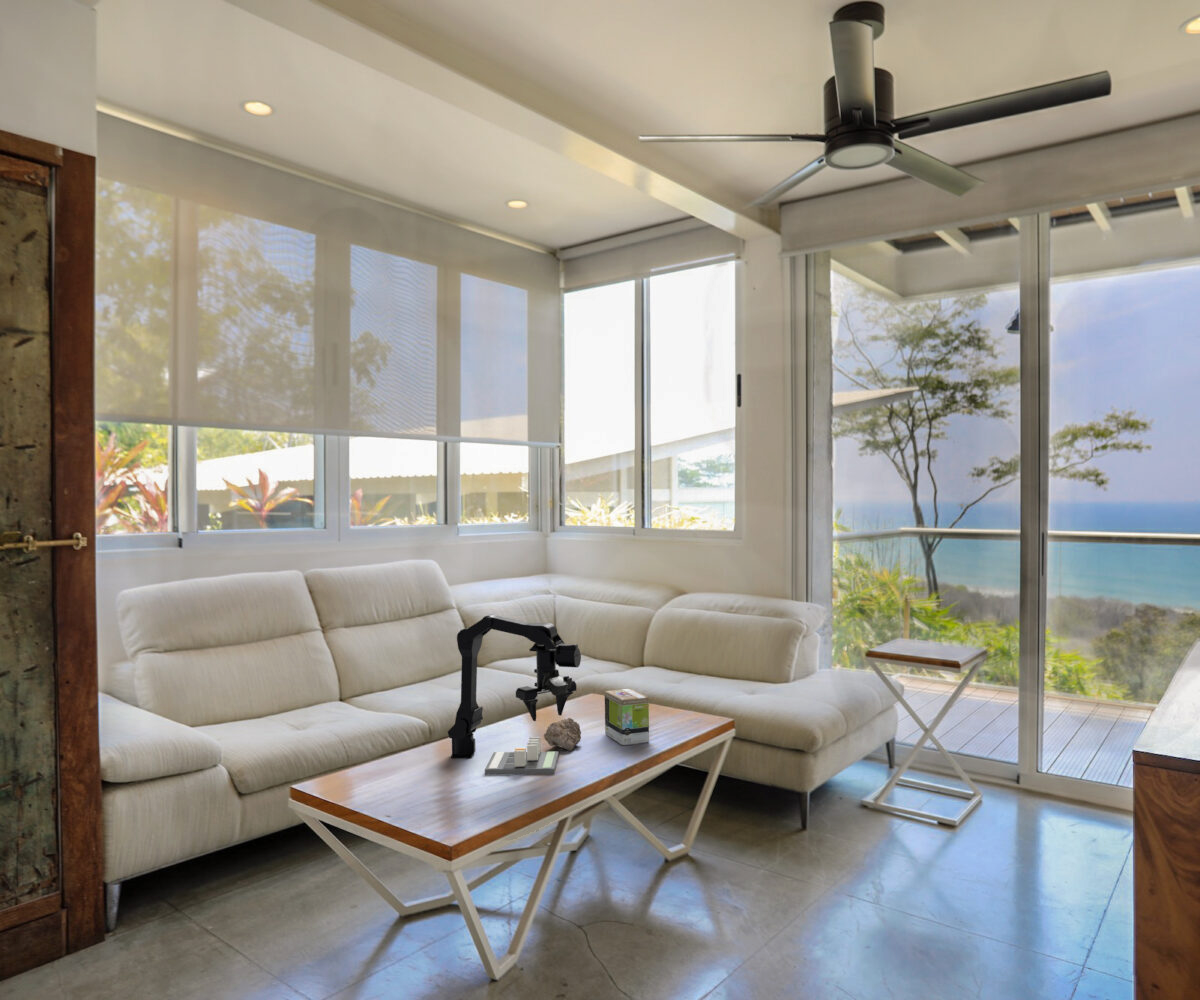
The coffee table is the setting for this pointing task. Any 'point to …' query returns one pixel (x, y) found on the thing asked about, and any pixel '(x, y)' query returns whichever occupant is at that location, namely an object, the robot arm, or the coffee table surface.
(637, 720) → the tea box
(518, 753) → the block
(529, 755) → the block
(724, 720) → the coffee table surface
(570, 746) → the coral
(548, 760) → the breaker panel
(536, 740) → the block
